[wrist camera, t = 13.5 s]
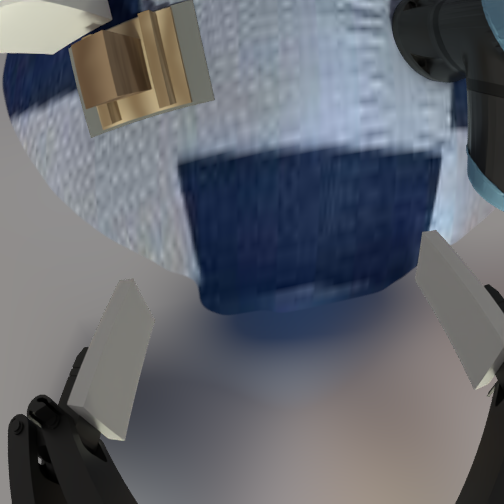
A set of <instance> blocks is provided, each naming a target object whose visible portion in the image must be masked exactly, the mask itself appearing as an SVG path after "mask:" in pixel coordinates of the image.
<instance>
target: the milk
mask: <svg viewBox="0 0 504 504" xmlns="http://www.w3.org/2000/svg"><path fill="white" fill-rule="evenodd" d="M111 20H112V16H111V12H110V8H109V4H108V0H0V53H38V54H54V53H56V52H57V51H59V50H60V49H62V48H63V47H65V46H67V45H68V44H70V43H71V42H73V41H75V40H76V39H78V38H80V37H81V36H83V35H85V34H87V33H88V32H90V31H92V30H94V29H96V28H98V27H100V26H101V25H103V24H105V23H107V22H109V21H111Z"/></svg>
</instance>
